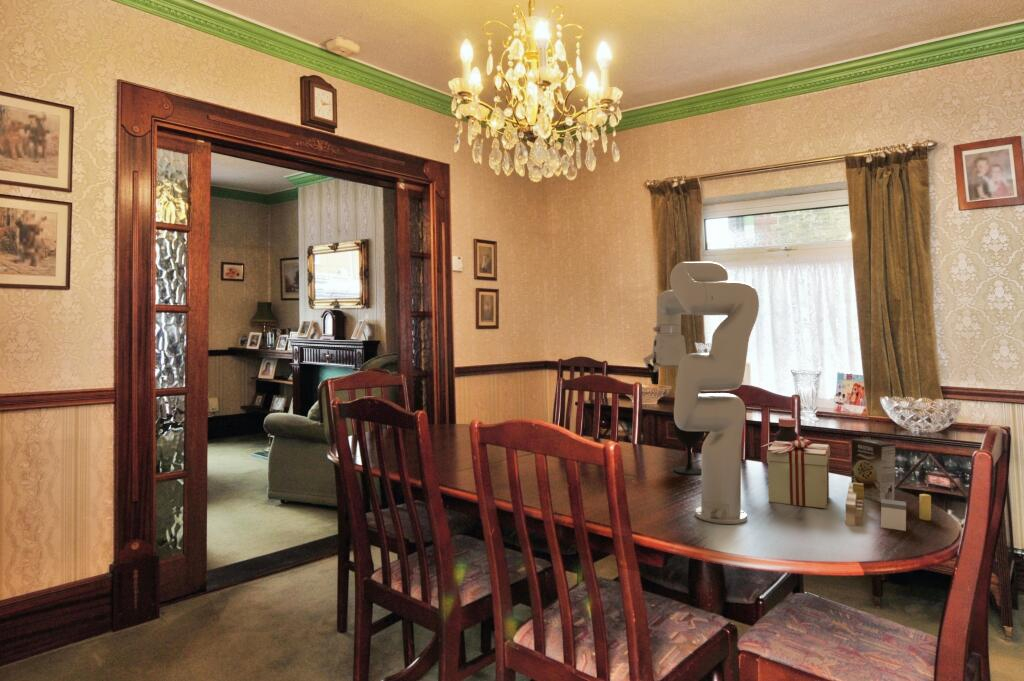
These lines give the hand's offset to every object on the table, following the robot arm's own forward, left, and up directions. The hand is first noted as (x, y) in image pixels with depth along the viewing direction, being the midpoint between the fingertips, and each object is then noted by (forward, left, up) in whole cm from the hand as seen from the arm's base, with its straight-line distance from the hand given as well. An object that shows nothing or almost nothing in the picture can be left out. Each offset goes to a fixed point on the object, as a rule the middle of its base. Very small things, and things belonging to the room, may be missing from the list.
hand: (668, 384), depth 193 cm
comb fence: (-11, -52, -30) cm, 61 cm away
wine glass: (+12, -3, -31) cm, 33 cm away
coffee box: (+8, -56, -31) cm, 65 cm away
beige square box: (-19, -61, -30) cm, 70 cm away
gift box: (-6, -37, -31) cm, 49 cm away
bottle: (+13, -33, -31) cm, 47 cm away
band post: (-8, -68, -30) cm, 75 cm away
